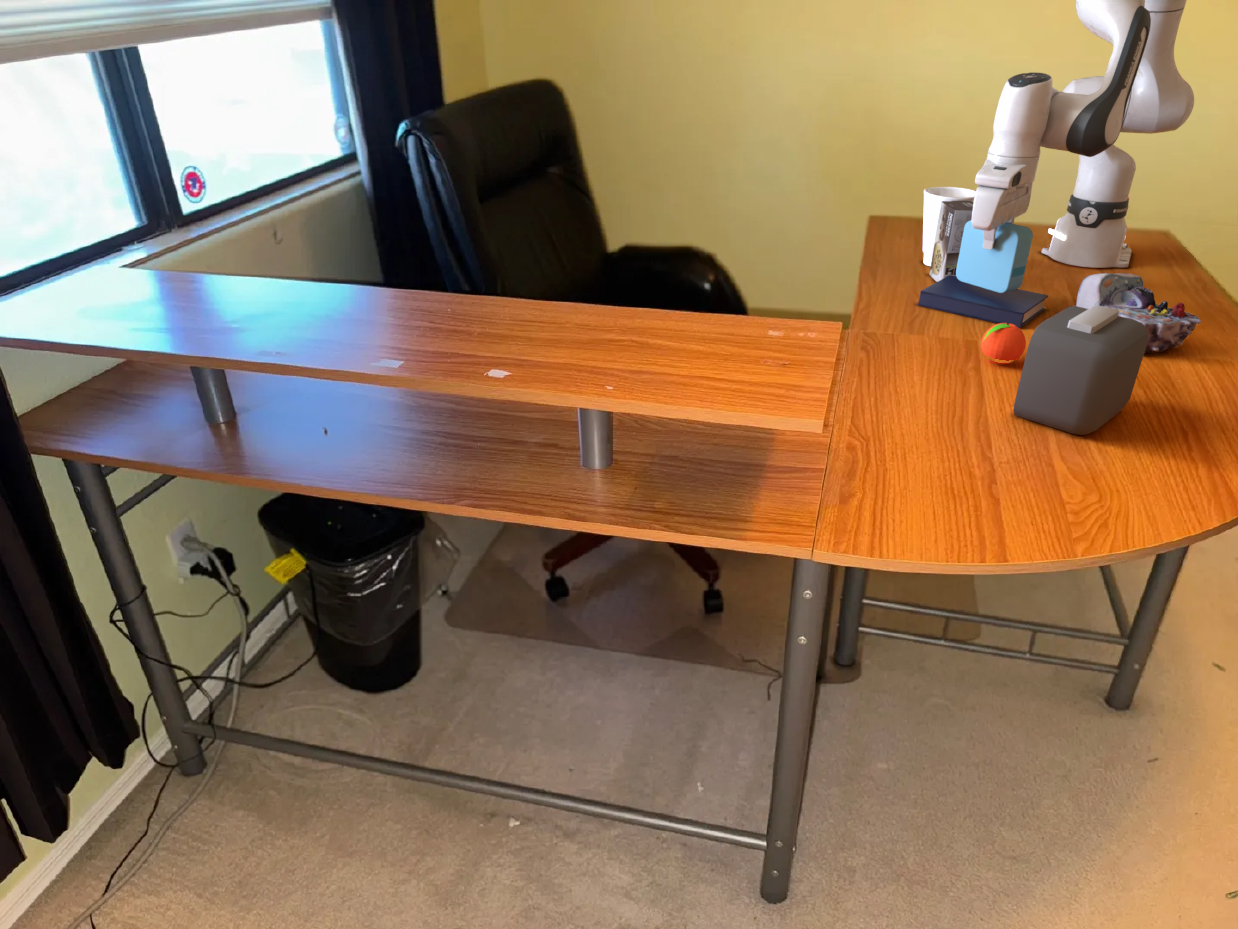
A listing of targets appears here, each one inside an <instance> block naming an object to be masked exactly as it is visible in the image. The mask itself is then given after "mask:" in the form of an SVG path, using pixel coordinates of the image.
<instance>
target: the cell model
mask: <svg viewBox="0 0 1238 929" xmlns="http://www.w3.org/2000/svg"><path fill="white" fill-rule="evenodd" d="M1095 305H1098V306H1103V307H1107V308H1111V309H1116V310H1118V311H1119V313H1118V316H1121V317H1125V318H1129V319H1134V320H1136V321H1138V322H1140V323H1143V325H1144V326H1145V328H1146V329H1147V331H1148V342H1147V346H1146V349H1145V352H1144V353H1146V354H1147V353H1148V354H1149V353H1151V354H1152V353H1162V352H1164V351H1165V350H1168V349H1174V348H1176V347H1179V346H1182V345H1184V341H1186V339H1187V338H1188V337H1189V336H1192V334H1193V331H1194V330H1195V328H1196V326H1197V325H1200V324H1202V320H1201V318H1199V316H1198V315H1196V314H1193V313H1190V312H1187V311H1186V310H1185V308H1186V307H1185V303H1184V302H1178V303H1176V304H1175V305H1174V306H1173V307H1169V302H1168V301H1167V300H1164V301H1161V302H1160V303H1159V304H1157V303H1156V300H1155V294H1154V292H1153V290H1151V288H1147V287H1145V286H1144V280H1143V278H1142V277H1141V276H1140V275H1137V274H1134V273H1133V274H1132V273H1127V272H1116V273H1112V272H1109V273H1108V272H1104V273H1095V274H1090V275H1087V276H1085V277H1084V278H1083V280H1082V281H1081V283H1080V285H1079V288H1078V291H1077V296H1076V305H1075V306H1077V307H1081V308H1086V309H1089V308H1091V307H1093V306H1095Z"/></svg>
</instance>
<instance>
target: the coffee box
mask: <svg viewBox="0 0 1238 929" xmlns="http://www.w3.org/2000/svg"><path fill="white" fill-rule="evenodd" d="M972 210H973V202H971V201H942V202H941V208H940V214H939V220H938V225H937V231H936V238H935V244H934V250H933V256H932V262H931V266H930V269H929V276H930V277H931V278H932V279H933V280H934V281H935V283H936V282H938V281H940V280H942V279H944V278H945V277H947V276H949V275H951V276H956V269H957V264H958V258H959V253H960V248H961V243H962V237H963V232H964V227H965V224H966V223H967V222H968V221H971V219H972ZM956 277H957V276H956Z"/></svg>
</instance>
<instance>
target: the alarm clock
mask: <svg viewBox="0 0 1238 929" xmlns="http://www.w3.org/2000/svg"><path fill="white" fill-rule="evenodd" d="M1118 313H1119V311H1118V310H1116V309H1111V308H1107V307H1103V306H1098V305H1095V306H1093V307H1091V308H1089V309H1086V308H1081V307H1077V306H1076V305H1070V306H1067V307H1066V308H1063V309H1062V310H1061V311H1059V312H1058V313H1056V314H1054V315H1053V316H1051V317H1048V318H1047V319H1045V320H1043V321H1041V323H1040V324H1038V325H1037V326H1036V328H1035V330H1034V331H1033V333H1032V335H1031V337H1030V340H1029V343H1028V346H1027V349H1026V354H1025V358H1024V362H1023V366H1022V371H1021V374H1020V378H1019V381H1018V387H1017V391H1016V395H1015V398H1014V399H1015V400H1014V404H1013V414H1014V416H1016V417H1018V418H1022V419H1025V420H1028V421H1032V422H1035V423H1037V424H1041V425H1044V426H1047V427H1051V428H1053V429H1056V430H1059V431H1063V432H1066V433H1068V434H1073V435H1078V436H1079V435H1080V436H1084V435H1085V436H1086V435H1088V434H1091V433H1093V432H1096V431H1098V430H1099V429H1100V428H1101V427H1102V426H1104V425H1105V424H1106V423H1108V422H1109V421H1110V420H1111V419H1113V417H1115V416H1116V415H1117V414H1118V413H1120V412H1121V411H1122V410H1123V409H1125V407H1126V406H1127V404H1128V403H1129V401H1130V400H1131V397H1132V394H1133V390H1134V387H1135V384H1136V381H1137V377H1138V374H1139V372H1140V369H1141V366H1142V362H1143V358H1144V356H1145V353H1146V352H1145V349H1146V346H1147V342H1148V331H1147V329H1146V328H1145V326H1144V325H1143V323H1140V322H1138V321H1136V320H1134V319H1129V318H1125V317H1121V316H1118Z"/></svg>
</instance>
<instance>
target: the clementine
mask: <svg viewBox="0 0 1238 929" xmlns="http://www.w3.org/2000/svg"><path fill="white" fill-rule="evenodd" d="M1026 346H1027V340H1026V336H1025V334H1024V332H1023V330H1022V329H1021V328H1018V327H1017V326H1015V325H1013V324H1010V323H999V324H998V323H995V324H994V325H991V326H990V327H989V328H988V329H986V331H985V332H984V334H983V336H982V338H981V340H980V349H981V352H983V353H984V354H985V355H986V356H989V357H992V358H994V359H999V360H1006V361H1009V360H1016V359H1017V360H1018V359H1020V358H1021V357H1022V355H1024V352H1025V349H1026ZM983 353H982V354H983ZM984 354H983V355H984ZM1017 360H1016V361H1017ZM988 361H989V362H990V363H993V364H994V365H995V364H996V365H1002V366H1003V365H1004V366H1005V365H1009V364H1010V363H998V362H994V361H991V360H988Z"/></svg>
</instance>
